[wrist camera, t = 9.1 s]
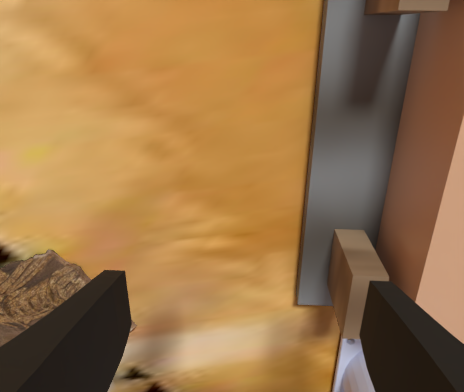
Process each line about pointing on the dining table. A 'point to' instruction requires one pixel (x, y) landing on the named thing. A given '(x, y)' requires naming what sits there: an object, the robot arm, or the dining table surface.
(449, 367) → the robot arm
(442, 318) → the clay strip
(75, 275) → the wooden fragment
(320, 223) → the grey panel
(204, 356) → the dining table surface
